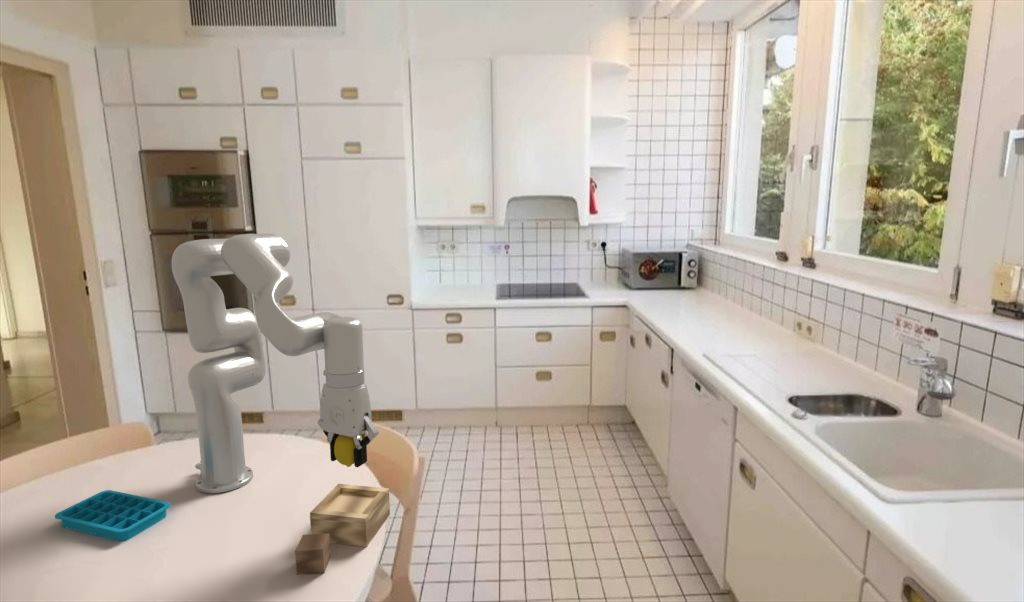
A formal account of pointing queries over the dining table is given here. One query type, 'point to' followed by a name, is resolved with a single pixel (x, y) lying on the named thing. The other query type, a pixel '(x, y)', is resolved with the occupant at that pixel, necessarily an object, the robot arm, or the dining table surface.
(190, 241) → the robot arm
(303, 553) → the walnut cube
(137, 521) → the ice cube tray
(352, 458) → the lemon
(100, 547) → the dining table surface
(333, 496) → the oak tray
